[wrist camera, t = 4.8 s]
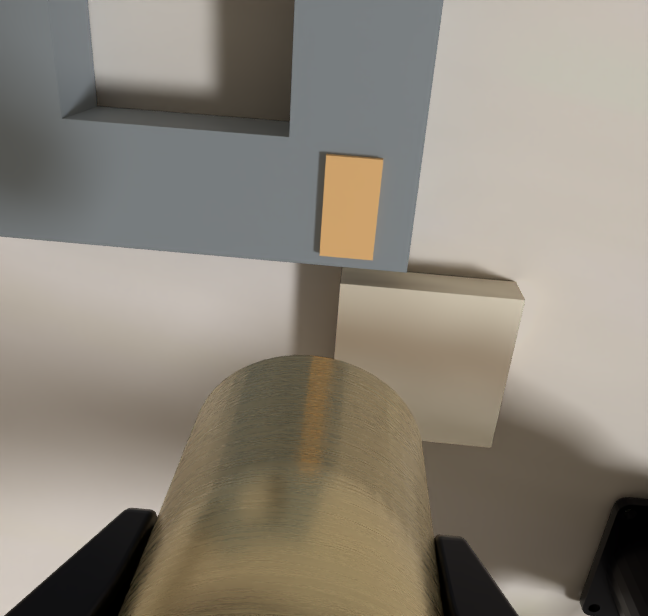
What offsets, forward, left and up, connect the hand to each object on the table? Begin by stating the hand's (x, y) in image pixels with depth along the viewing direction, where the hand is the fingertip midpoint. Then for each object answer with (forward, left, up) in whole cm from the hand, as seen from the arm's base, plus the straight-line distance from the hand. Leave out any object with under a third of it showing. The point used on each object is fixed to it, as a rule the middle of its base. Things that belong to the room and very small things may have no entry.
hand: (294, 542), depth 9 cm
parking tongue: (-4, -3, -13) cm, 14 cm away
